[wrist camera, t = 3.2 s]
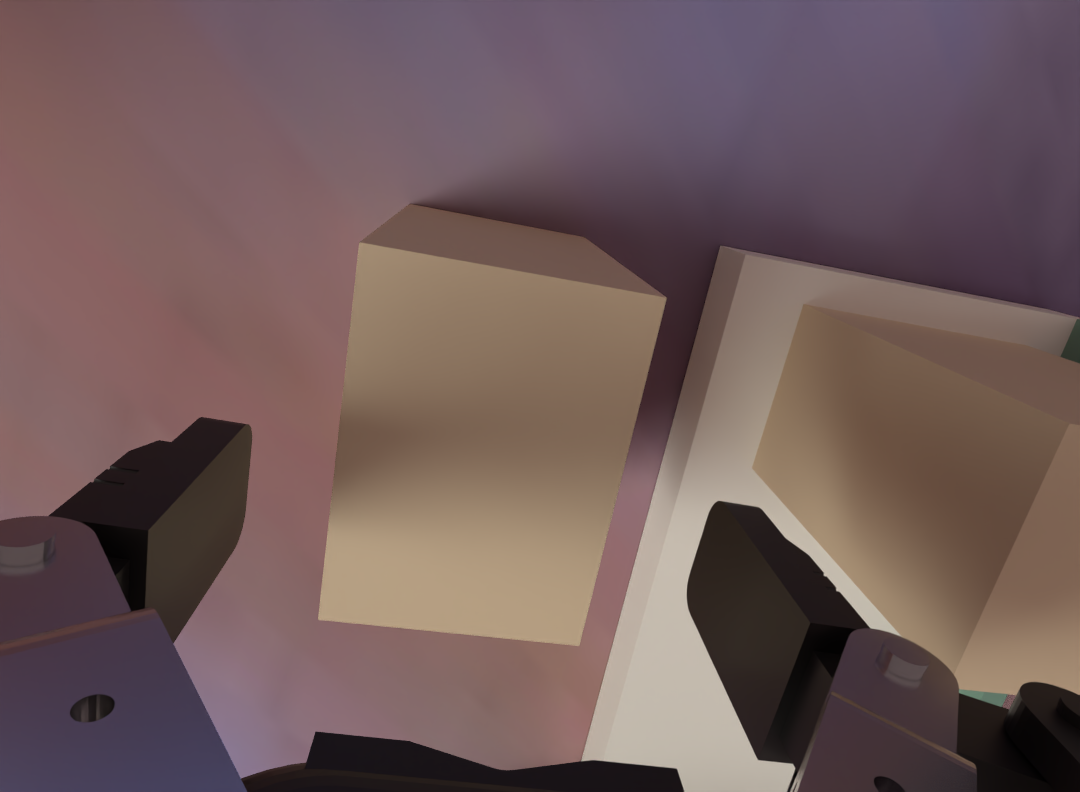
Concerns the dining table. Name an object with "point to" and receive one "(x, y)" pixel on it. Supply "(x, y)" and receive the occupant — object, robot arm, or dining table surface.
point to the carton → (482, 426)
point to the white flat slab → (748, 502)
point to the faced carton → (939, 487)
